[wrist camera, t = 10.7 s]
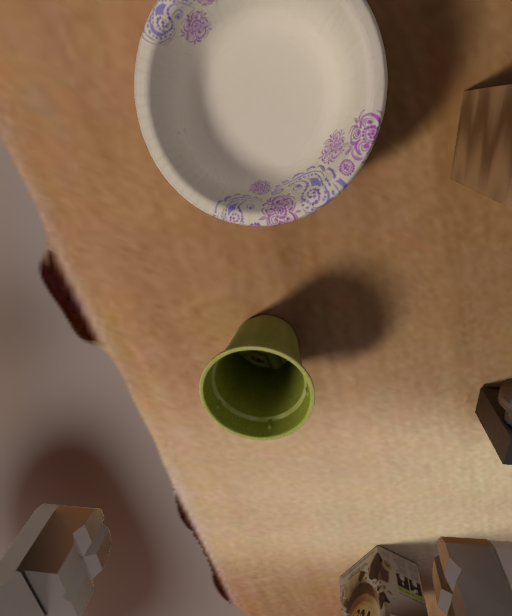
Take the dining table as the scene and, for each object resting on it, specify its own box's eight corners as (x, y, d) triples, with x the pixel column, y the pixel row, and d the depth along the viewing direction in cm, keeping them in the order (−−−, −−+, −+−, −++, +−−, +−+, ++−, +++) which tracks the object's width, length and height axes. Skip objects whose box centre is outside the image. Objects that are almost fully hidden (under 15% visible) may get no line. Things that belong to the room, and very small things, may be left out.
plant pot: (330, 319, 38) (334, 373, 30) (293, 392, 42) (288, 455, 34) (238, 284, 37) (218, 328, 30) (210, 361, 42) (186, 417, 34)
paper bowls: (258, -82, 26) (236, -155, 19) (416, 90, 29) (448, 84, 22) (135, 116, 32) (85, 117, 25) (275, 241, 35) (266, 273, 28)
